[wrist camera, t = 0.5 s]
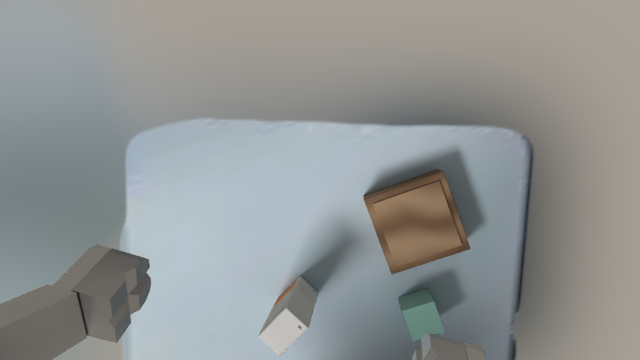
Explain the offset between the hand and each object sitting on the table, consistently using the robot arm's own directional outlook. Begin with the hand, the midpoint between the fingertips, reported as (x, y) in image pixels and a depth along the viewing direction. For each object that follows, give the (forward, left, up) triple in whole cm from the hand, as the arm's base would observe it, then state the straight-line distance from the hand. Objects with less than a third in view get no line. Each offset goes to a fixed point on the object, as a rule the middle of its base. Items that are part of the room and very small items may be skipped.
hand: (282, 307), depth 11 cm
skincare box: (-17, +15, -50) cm, 55 cm away
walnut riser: (-11, -7, -50) cm, 52 cm away
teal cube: (-25, -3, -50) cm, 56 cm away
